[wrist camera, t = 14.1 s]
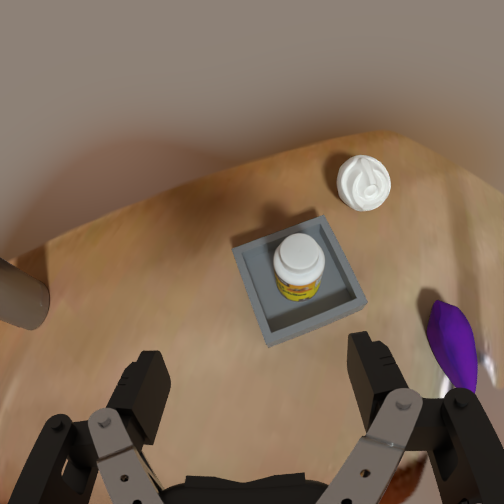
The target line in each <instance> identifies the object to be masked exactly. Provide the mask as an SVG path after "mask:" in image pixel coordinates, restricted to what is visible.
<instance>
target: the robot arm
mask: <svg viewBox="0 0 504 504" xmlns="http://www.w3.org/2000/svg"><path fill="white" fill-rule="evenodd" d="M48 308H49V292H48V289H47V287H46V286H45V285H44V284H43V283H42V282H40V281H38V280H37V279H35V278H33V277H32V276H30V275H28V274H27V273H25V272H23V271H22V270H20V269H18V268H17V267H15V266H13V265H12V264H10V263H8V262H7V261H5V260H4V259H2V258H0V320H2V321H4V322H7V323H9V324H12V325H14V326H17V327H22V328H24V329H27V330H33V329H36V328H37V327H39V326H40V325H41V324H42V322H43V321H44V319H45V317H46V315H47V312H48ZM347 370H348V375H349V378H350V381H351V384H352V388H353V391H354V394H355V397H356V400H357V404H358V407H359V410H360V414H361V417H362V420H363V424H364V427H365V431H366V433H367V434H366V435H365V436H362V437H361V438H360V439H359V441H358V442H357V444H356V446H355V447H354V449H353V450H352V452H351V454H350V455H349V457H348V458H347V460H346V461H345V463H344V464H343V466H342V467H341V469H340V470H339V472H338V473H337V475H336V476H335V478H334V479H333V481H332V482H331V483H330V485H327V484H325V483H322V482H318V481H313V480H305V473H295V474H284V475H274V476H270V477H266V478H263V479H259V480H255V481H251V482H246V483H240V482H235V481H230V480H226V479H221V478H217V477H205V476H186V480H185V483H182V484H178V485H174V486H171V487H169V488H167V489H165V488H164V487H163V486H162V484H161V483H160V481H159V479H158V478H157V476H156V474H155V473H154V471H153V469H152V467H151V466H150V464H149V462H148V460H147V458H146V457H145V455H144V453H143V451H142V447H143V444H146V445H153V444H154V440H155V437H156V434H157V430H158V427H159V424H160V421H161V417H162V414H163V411H164V408H165V404H166V401H167V398H168V395H169V392H170V388H171V380H170V376H169V373H168V370H167V368H166V365H165V363H164V360H163V357H162V354H161V352H160V351H142V352H141V354H140V356H139V358H138V360H137V362H132V363H131V364H130V365H129V366H128V367H127V368H126V369H125V370H124V372H123V374H122V376H121V379H120V380H119V382H118V386H116V388H115V390H114V392H113V394H112V396H111V398H110V400H109V402H108V404H107V406H106V408H102V409H99V410H97V411H95V412H94V413H93V414H92V415H91V416H90V418H89V420H87V421H80V422H72V420H71V419H70V418H69V417H68V416H67V415H65V414H57V415H54V416H52V417H51V418H49V419H48V420H47V421H46V423H45V425H44V427H43V429H42V431H41V433H40V435H39V437H38V439H37V441H36V443H35V445H34V447H33V449H32V451H31V453H30V455H29V457H28V459H27V461H26V463H25V465H24V467H23V470H22V472H21V474H20V476H19V478H18V481H17V483H16V485H15V488H14V490H13V492H12V495H11V497H10V499H9V502H8V504H88V503H89V500H90V496H91V493H92V490H93V486H94V483H95V480H96V477H97V474H98V470H99V471H100V474H101V476H102V479H103V481H104V484H105V486H106V489H107V491H108V493H109V496H110V498H111V500H112V503H113V504H378V503H379V501H380V499H381V498H382V496H383V494H384V492H385V490H386V488H387V486H388V484H389V483H390V481H391V479H392V477H393V475H394V473H395V471H396V469H397V467H398V465H399V463H400V461H401V458H402V456H403V454H404V452H405V451H427V453H428V456H429V459H430V462H431V465H432V468H433V472H434V475H435V478H436V482H437V485H438V489H439V492H440V496H441V500H442V503H443V504H504V449H503V447H502V444H501V442H500V440H499V438H498V436H497V434H496V432H495V430H494V428H493V426H492V424H491V422H490V420H489V418H488V416H487V415H486V413H485V411H484V409H483V407H482V405H481V403H480V402H479V400H478V398H477V396H476V395H475V393H474V392H472V391H471V390H469V389H466V388H454V389H452V390H450V391H448V392H447V394H446V395H445V397H444V398H437V399H428V398H422V397H421V396H420V394H419V393H418V392H416V391H414V390H412V389H409V387H408V385H407V383H406V381H405V379H404V377H403V375H402V373H401V371H400V369H399V367H398V365H397V364H396V362H395V360H394V358H393V357H392V354H391V352H390V350H389V348H388V347H387V346H386V345H385V344H383V343H382V342H381V341H375V342H372V341H371V339H370V337H369V335H368V333H367V331H363V332H357V333H351V334H349V335H348V351H347ZM66 459H68V463H67V465H66V468H65V470H64V473H63V475H61V472H62V469H63V466H64V464H65V461H66Z"/></svg>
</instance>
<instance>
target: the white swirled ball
mask: <svg viewBox="0 0 504 504" xmlns="http://www.w3.org/2000/svg"><path fill="white" fill-rule="evenodd" d="M390 188H391V182H390V177H389V174H388V172H387V170H386V168H385V167H384V166H383V165H382V164H381V163H380V162H379V161H378V160H376V159H375V158H373V157H370V156H366V155H357V156H354V157H351V158H350V159H348V160H347V161H346V162H344V163H343V164H342V165H341V167H340V169H339V173H338V176H337V189H338V194H339V197H340V198H341V199H342V201H343V202H344V203H345V204H347V205H348V206H349V207H351V208H352V209H355V210H357V211H368V210H373V209H375V208H377V207H379V206H380V205H381V204H382V203H383V202H384V201H385V199H386V198H387V197H388V195H389V192H390Z"/></svg>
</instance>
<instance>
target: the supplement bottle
mask: <svg viewBox="0 0 504 504" xmlns="http://www.w3.org/2000/svg"><path fill="white" fill-rule="evenodd" d="M273 264H274V271H275V277H276V284H277V288H278V290H279V292H280V294H281V295H282V296H283V297H284V298H285V299H287V300H289V301H292V302H305V301H307V300H309V299H311V298H312V297H313V296H314V295H315V294H316V293H317V291H318V289H319V286H320V282H321V278H322V274H323V270H324V266H325V256H324V253H323V251H322V249H321V247H320V246H319V245H318V244H317V243H316V241H315V240H314V239H313V238H312V237H310V236H309V235H306V234H302V233H296V234H292V235H290V236H288V237H287V238H286V239H285V240H284V241H283V242H282V243H281V244H280V245H279V246H278V247H277V249H276V251H275V254H274V258H273Z"/></svg>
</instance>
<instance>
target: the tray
mask: <svg viewBox="0 0 504 504" xmlns="http://www.w3.org/2000/svg"><path fill="white" fill-rule="evenodd" d="M296 233H302V234H306V235H309V236H310V237H312V238H313V239H314V240H315V241H316V243H317V244H318V245H319V246H320V247H321V249H322V251H323V253H324V256H325V266H324V270H323V274H322V278H321V282H320V286H319V289H318V291H317V293H316V294H315V295H314V296H313V297H312V298H311V299H309V300H307V301H305V302H292V301H289V300H287V299H285V298H284V297H283V296H282V295H281V294H280V292H279V290H278V288H277V284H276V277H275V271H274V264H273V258H274V254H275V251H276V249H277V247H278V246H279V245H280V244H281V243H282V242H283V241H284V240H285V239H286V238H287V237H288V236H290V235H292V234H296ZM232 252H233V254H234V257H235V260H236V263H237V266H238V268H239V271H240V274H241V277H242V280H243V282H244V285H245V288H246V291H247V293H248V296H249V299H250V302H251V304H252V307H253V310H254V313H255V315H256V318H257V321H258V323H259V326H260V329H261V332H262V334H263V337H264V340H265V342H266V345H267V346H268V348H269V347H272V346H274V345H277V344H280V343H282V342H285V341H288V340H290V339H293V338H295V337H298V336H300V335H303V334H305V333H308V332H310V331H313V330H315V329H318V328H320V327H323V326H325V325H327V324H330V323H332V322H334V321H337V320H339V319H341V318H344V317H346V316H348V315H351V314H353V313H355V312H357V311H360V310H362V309H363V308H364V306H365V305H366V304H367V303H368V302H367V300H366V297H365V295H364V293H363V291H362V289H361V287H360V285H359V283H358V281H357V279H356V276H355V274H354V272H353V270H352V268H351V266H350V264H349V262H348V260H347V258H346V256H345V254H344V252H343V250H342V248H341V246H340V245H339V243H338V241H337V239H336V237H335V235H334V233H333V231H332V229H331V227H330V225H329V223H328V222H327V220H326V218H325V216H324V215H322V216H319V217H316V218H314V219H311V220H308V221H305V222H303V223H300V224H297V225H295V226H292V227H289V228H286V229H284V230H281V231H278V232H276V233H273V234H270V235H268V236H265V237H262V238H259V239H257V240H254V241H251V242H249V243H246V244H243V245H241V246H238V247H235V248H233V249H232Z"/></svg>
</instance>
